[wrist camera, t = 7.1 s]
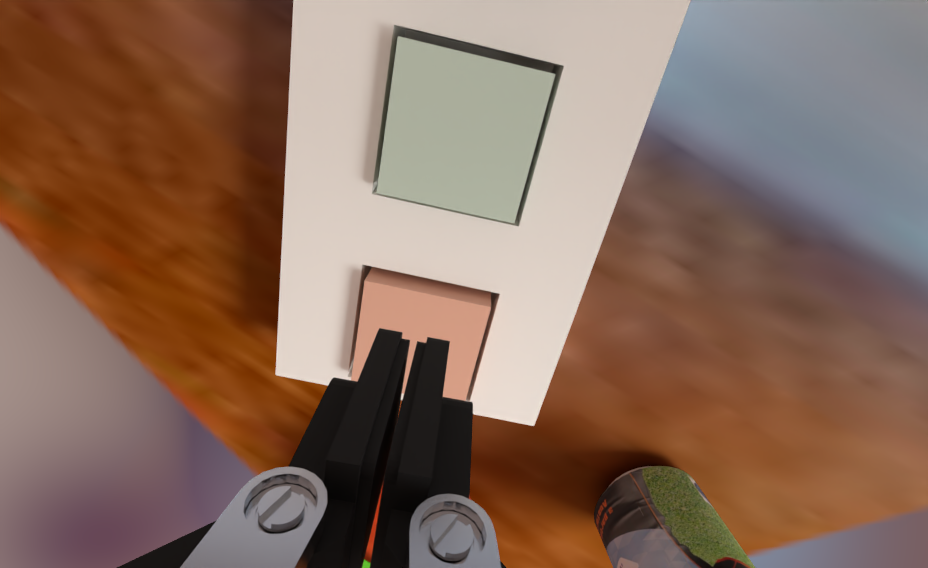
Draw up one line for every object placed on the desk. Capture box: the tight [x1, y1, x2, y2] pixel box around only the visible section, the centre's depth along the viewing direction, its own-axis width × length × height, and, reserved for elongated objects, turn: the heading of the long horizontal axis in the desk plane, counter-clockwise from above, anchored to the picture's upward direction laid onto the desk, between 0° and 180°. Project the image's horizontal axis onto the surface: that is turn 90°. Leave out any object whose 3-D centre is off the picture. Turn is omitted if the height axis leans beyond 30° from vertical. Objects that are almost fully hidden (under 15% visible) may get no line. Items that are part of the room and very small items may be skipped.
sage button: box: [377, 36, 555, 223], centre depth 17 cm, size 5×5×3 cm
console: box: [276, 0, 691, 426], centre depth 18 cm, size 12×24×3 cm, turn 168°
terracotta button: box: [351, 267, 491, 401], centre depth 21 cm, size 5×5×3 cm
